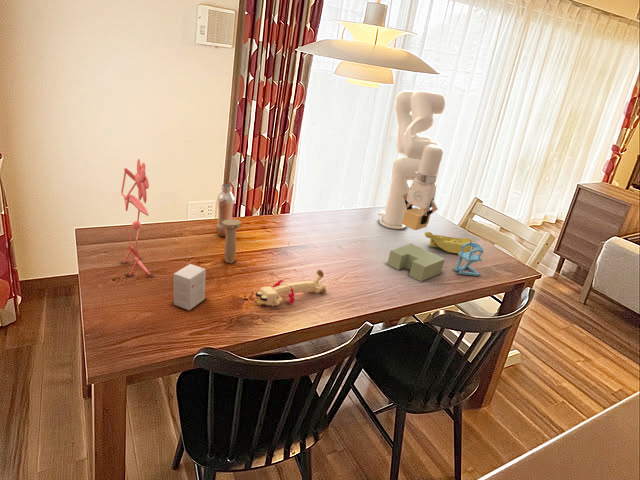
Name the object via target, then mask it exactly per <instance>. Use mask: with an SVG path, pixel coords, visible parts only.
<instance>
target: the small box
mask: <svg viewBox="0 0 640 480" xmlns="http://www.w3.org/2000/svg"><path fill="white" fill-rule="evenodd" d="M206 271H207V270H206V268H203V267H200V266H198V265H195V264H191V263H189V264H187V265H186V266H184V267H182V268H180V269H179V270H178V271H176V272H174V273H173V305H174V306H177V307H179V308H181V309H184V310H187V311H191V310H192V309H193V308H195V307H196V306H197V305H199V304H200V303H201V302H203V301H204V300H205V299H206V273H207V272H206Z"/></svg>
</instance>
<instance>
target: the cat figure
mask: <svg viewBox="0 0 640 480" xmlns="http://www.w3.org/2000/svg"><path fill="white" fill-rule="evenodd" d="M316 275H318V276H316V277H315V279H313V280H307V281H306V280H303V281H295V282H288V283H285V284H281V283H282V282H284V279H279V280H278V281H276V282H275V283H274V284H273V285H272V287H271V286H269V285H268V286H261V287H260V288H259V291H256V293H255V296H256V297H257V298H254V301H256V304H257V305H258V306H261V305H265V306H272V307H275V306H279V305H280V303H282V301H283V297H285V296H287V297H288V298H289V299H288V302H287V304H290V305H291V304H294V302H296V301H295V300H296V299H295V294H297V293H308V292H309V293H313V292H314V293H316V294H317V293H321V294H325V293H326V292H327V289H326V287H327V286H326V284H321V285H320V284H319V283H320V281H321V280H322V279H323V278H324V276H325V274H324V272H323V270H321V269H318V270H317V271H316Z"/></svg>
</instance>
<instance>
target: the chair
mask: <svg viewBox="0 0 640 480" xmlns="http://www.w3.org/2000/svg"><path fill="white" fill-rule="evenodd" d="M468 245H470V246H471V251H470V252H465V253H463V252H464V247H466V246H468ZM475 253H478V255H476V254H475ZM483 253H484V248H483V246H482V245H481V244H479V243H475V242H471V243H466V244H464V245H462V251H461V252H460V253H458V260H457V263H456V266H455V268H454V272H458V273H457V274H458V275H464V276H465V275H466V276H474V277H479V276H480V272H478V271H477V270H475V269H474V268H472V267H471V266H470V265H472V264H475V263H476V262H482V261H483V259H482V258H481V256H482V254H483ZM463 259H464V260H465V261H466V262H467V263H466V264H465V265H462V266H461V263H462V260H463ZM467 269H468V270H469V271H465V270H467Z"/></svg>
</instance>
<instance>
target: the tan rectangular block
mask: <svg viewBox="0 0 640 480" xmlns="http://www.w3.org/2000/svg"><path fill="white" fill-rule="evenodd" d="M423 215H424V209H422V208H419V207H413V208H412V209H409V210H405V213H404V217H403V221H402V224H403V225H405V226H406V228H409V229H412V230H413V231H418V230H421V229H424V228H426V227H427V226H428V225H429V222H430V218H431V215H432V214H430V215H429V216H428V220H427V222H426V224H421V220H422V216H423Z"/></svg>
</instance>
